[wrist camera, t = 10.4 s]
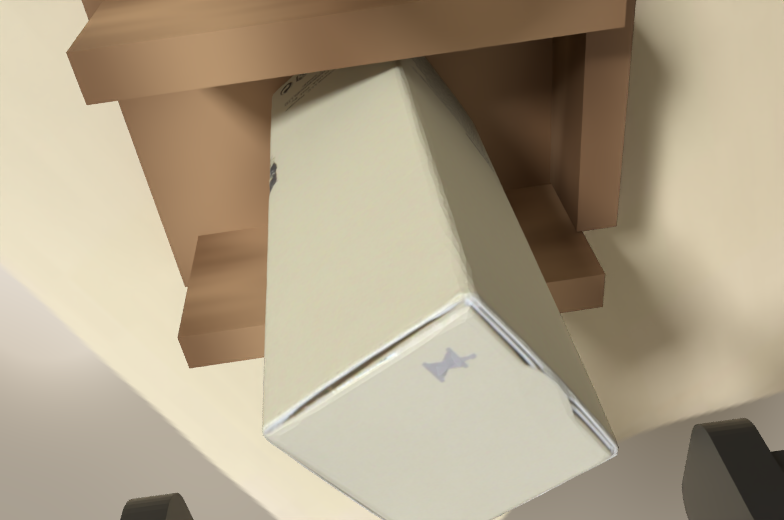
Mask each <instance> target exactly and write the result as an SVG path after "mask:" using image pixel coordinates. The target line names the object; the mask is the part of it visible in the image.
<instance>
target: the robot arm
mask: <svg viewBox="0 0 784 520" xmlns="http://www.w3.org/2000/svg"><path fill="white" fill-rule="evenodd" d="M682 493H683V500H684V505H685V509H686V513H687V516H688V519H689V520H784V450H781V451H774V452H770V450H769V449H768V447H767V445H766V444H765V442H764V440H763V439H762V437H761V435H760V434H759V432H758V430H757V429H756V427H755V426H754V425H753V424H752V422H750V421H749V420H748V419H746V418H740V419H733V420H726V421H718V422H711V423H704V424H697V425H695V426H694V428H693V430H692V434H691V439H690V445H689V450H688V455H687V460H686V466H685V471H684V476H683V483H682ZM120 520H193V518H192V516H191V514H190V511H189V510H188V507H187V505H186V503H185V501H184V499H183V497H182V496H181V495H180V494H179V493H173V494H165V495H159V496H150V497H143V498H136V499H131V500H129V501H128V502H127V503H126V505H125V507H124V509H123V512H122V515H121V519H120Z"/></svg>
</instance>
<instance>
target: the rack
mask: <svg viewBox="0 0 784 520" xmlns="http://www.w3.org/2000/svg"><path fill="white" fill-rule="evenodd" d="M82 3H83V5H84V8H85V11H86V14H87V16H88V19H89V21H88V23H87V24H86V26H85V27H84V28H83V30H82V31H81V33H80V34H79V35H78V37H77V38H76V40H75V41H74V42H73V44H72V45H71V47H70V48H69V49H68V51H67V52H66V53H67V56H68V58H69V61H70V64H71V66H72V69H73V71H74V74H75V76H76V79H77V81H78V84H79V87H80V89H81V92H82V94H83V97H84V99H85V102H86V105H91V104H98V103H105V102H112V101H118V102H119V105H120V108H121V111H122V113H123V116H124V119H125V122H126V124H127V127H128V130H129V133H130V135H131V138H132V141H133V144H134V146H135V149H136V152H137V155H138V158H139V160H140V163H141V166H142V169H143V171H144V174H145V177H146V180H147V182H148V185H149V188H150V191H151V193H152V196H153V199H154V202H155V205H156V207H157V210H158V213H159V216H160V218H161V221H162V224H163V227H164V229H165V232H166V235H167V238H168V241H169V243H170V246H171V249H172V252H173V254H174V257H175V260H176V263H177V265H178V268H179V271H180V274H181V276H182V279H183V282H184V285H185V287H188V289H187V294H186V299H185V304H184V309H183V314H182V319H181V323H180V328H179V333H178V340H179V343H180V345H181V348H182V350H183V353H184V355H185V358H186V361H187V363H188V366H189V368H195V367H202V366H209V365H215V364H222V363H229V362H235V361H242V360H249V359H256V358H262V357H264V349H265V315H266V289H267V253H268V210H269V194H270V186H269V180H270V142H271V109H272V96H273V94H274V93H275V92H276V91H277V90H278V89H279V88H280V87H281V86H282V85H283V84H285V83H286V82H287V81H288V80H289V79H290V78H291V77H292V76H294V75H297V74H304V73H311V72H318V71H325V70H332V69H339V68H346V67H352V66H359V65H366V64H373V63H380V62H387V61H394V60H401V59H407V58H414V57H421V56H425V58H426V59H427V60H428V62H429V63H430V64H431V65H432V67H433V68H434V69H435V71H436V72H437V73H438V75H439V76H440V77H441V79H442V80H443V81H444V83H445V84H446V85H447V87H448V88H449V89H450V90H451V92H452V93H453V94H454V96H455V97H456V99H457V100H458V101H459V103H460V104H461V106H462V107H463V108H464V110H465V111H466V113H467V114H468V116H469V117H470V119H471V120H472V121H473V123H474V125H475V127H476V130H477V132H478V134H479V136H480V138H481V141H482V143H483V145H484V147H485V150H486V152H487V154H488V156H489V159H490V161H491V163H492V165H493V167H494V170H495V172H496V174H497V176H498V179H499V181H500V183H501V185H502V187H503V190H504V192H505V194H506V196H507V198H508V201H509V203H510V205H511V207H512V209H513V212H514V214H515V216H516V218H517V220H518V222H519V225H520V227H521V229H522V231H523V233H524V235H525V238H526V240H527V242H528V244H529V246H530V249H531V251H532V253H533V255H534V257H535V260H536V262H537V264H538V266H539V268H540V271H541V273H542V275H543V277H544V280H545V282H546V284H547V286H548V288H549V291H550V293H551V295H552V297H553V299H554V301H555V304H556V306H557V308H558V310H559V312H560V313H564V312H571V311H577V310H584V309H591V308H597V307H603V296H604V283H605V273H604V271H603V269H602V267H601V265H600V264H599V262H598V260H597V258H596V256H595V254H594V252H593V251H592V249H591V247H590V245H589V243H588V241H587V240H586V238H585V236H584V234H583V232H582V231H587V230H594V229H601V228H608V227H614V226H617V214H618V203H619V191H620V179H621V168H622V156H623V145H624V133H625V121H626V110H627V98H628V86H629V75H630V63H631V51H632V40H633V28H634V17H635V5H636V0H82Z"/></svg>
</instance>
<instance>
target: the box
mask: <svg viewBox="0 0 784 520" xmlns="http://www.w3.org/2000/svg"><path fill="white" fill-rule="evenodd" d="M269 186H270V194H269V210H268V253H267V289H266V315H265V349H264V381H263V426H262V432H263V436H264V437H265V438H266V439H267V440H268V441H269V442H270V443H271V444H273V445H274V446H276V447H277V448H279V449H280V450H281V451H283V452H284V453H286V454H287V455H288V456H290V457H291V458H293V459H294V460H295V461H297V462H298V463H299V464H301V465H302V466H303V467H305V468H306V469H308V470H309V471H311V472H312V473H314V474H315V475H317V476H318V477H319V478H321V479H322V480H324V481H325V482H327V483H328V484H330V485H331V486H333V487H334V488H336V489H337V490H338V491H340V492H341V493H343V494H344V495H346V496H347V497H349V498H350V499H352V500H353V501H355V502H356V503H357V504H359V505H360V506H362V507H363V508H365V509H366V510H368V511H369V512H371V513H372V514H374V515H376V516H378V517H379V518H381V519H382V520H492V519H494V518H496V517H498V516H501V515H502V514H504V513H506V512H507V511H509V510H511V509H514V508H516V507H518V506H520V505H521V504H524V503H526V502H528V501H530V500H532V499H534V498H536V497H538V496H540V495H542V494H544V493H546V492H547V491H549V490H551V489H553V488H555V487H557V486H559V485H561V484H563V483H564V482H567V481H568V480H570V479H572V478H574V477H576V476H578V475H580V474H582V473H584V472H586V471H588V470H590V469H592V468H594V467H596V466H598V465H600V464H602V463H604V462H606V461H608V460H609V459H611V458H613V457H615V456H616V455H617V454H618V445H617V442H616V439H615V436H614V434H613V432H612V430H611V427H610V425H609V423H608V420H607V418H606V416H605V413H604V411H603V409H602V406H601V404H600V402H599V399H598V397H597V395H596V392H595V390H594V388H593V385H592V383H591V381H590V379H589V377H588V374H587V372H586V370H585V368H584V365H583V363H582V361H581V359H580V357H579V354H578V352H577V350H576V348H575V345H574V343H573V341H572V339H571V337H570V334H569V332H568V330H567V328H566V325H565V323H564V321H563V319H562V317H561V315H560V312H559V310H558V308H557V306H556V304H555V301H554V299H553V297H552V295H551V293H550V291H549V288H548V286H547V284H546V282H545V280H544V277H543V275H542V273H541V271H540V268H539V266H538V264H537V262H536V260H535V257H534V255H533V253H532V251H531V249H530V246H529V244H528V242H527V240H526V238H525V235H524V233H523V231H522V229H521V227H520V225H519V222H518V220H517V218H516V216H515V214H514V212H513V209H512V207H511V205H510V203H509V201H508V198H507V196H506V194H505V192H504V190H503V187H502V185H501V183H500V181H499V179H498V176H497V174H496V172H495V170H494V167H493V165H492V163H491V161H490V159H489V156H488V154H487V152H486V150H485V147H484V145H483V143H482V141H481V138H480V136H479V134H478V132H477V130H476V127H475V125H474V123H473V121H472V120H471V119H470V117H469V116H468V114H467V113H466V111H465V110H464V108H463V107H462V106H461V104H460V103H459V101H458V100H457V99H456V97H455V96H454V94H453V93H452V92H451V90H450V89H449V88H448V87H447V85H446V84H445V83H444V81H443V80H442V79H441V77H440V76H439V75H438V73H437V72H436V71H435V69H434V68H433V67H432V65H431V64H430V63H429V62H428V60H427V59H426V58H425V56H421V57H414V58H407V59H401V60H394V61H387V62H380V63H373V64H366V65H359V66H352V67H346V68H339V69H332V70H325V71H318V72H311V73H304V74H297V75H294V76H292V77H291V78H290V79H289V80H288V81H287V82H286V83H285V84H283V85H282V86H281V87H280V88H279V89H278V90H277V91H276V92H275V93H274V94H273V96H272V109H271V142H270V180H269Z"/></svg>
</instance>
